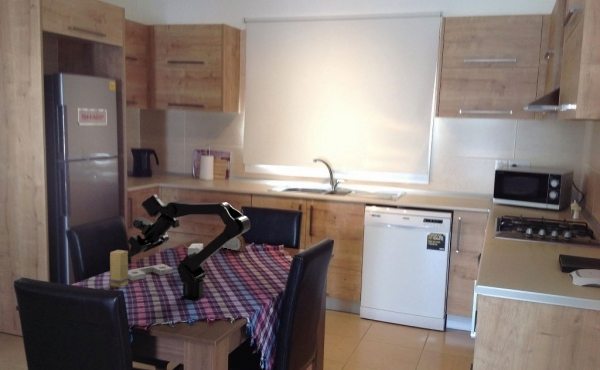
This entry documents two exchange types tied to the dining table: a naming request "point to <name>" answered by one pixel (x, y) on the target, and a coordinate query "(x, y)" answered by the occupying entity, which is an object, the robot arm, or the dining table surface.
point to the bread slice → (235, 243)
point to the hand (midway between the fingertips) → (136, 254)
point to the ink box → (195, 248)
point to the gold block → (118, 268)
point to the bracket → (141, 272)
